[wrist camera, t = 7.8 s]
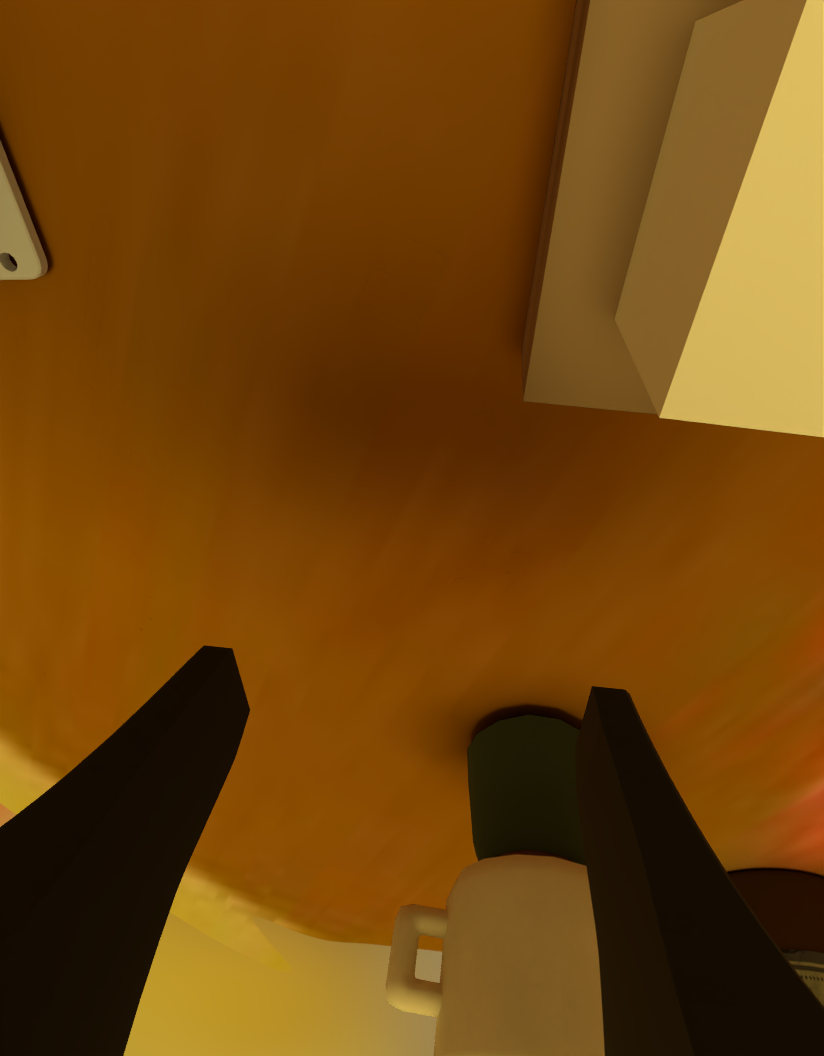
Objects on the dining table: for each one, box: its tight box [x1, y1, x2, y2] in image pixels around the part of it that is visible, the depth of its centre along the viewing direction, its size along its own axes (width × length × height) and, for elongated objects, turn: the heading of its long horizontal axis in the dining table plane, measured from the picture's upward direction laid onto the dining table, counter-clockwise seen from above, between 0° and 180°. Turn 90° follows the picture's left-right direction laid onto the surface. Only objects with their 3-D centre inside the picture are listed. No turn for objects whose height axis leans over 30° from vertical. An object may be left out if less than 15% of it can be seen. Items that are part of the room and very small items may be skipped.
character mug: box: [386, 715, 605, 1056], centre depth 23 cm, size 11×7×13 cm, turn 88°
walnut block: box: [522, 0, 742, 414], centre depth 13 cm, size 9×9×4 cm
